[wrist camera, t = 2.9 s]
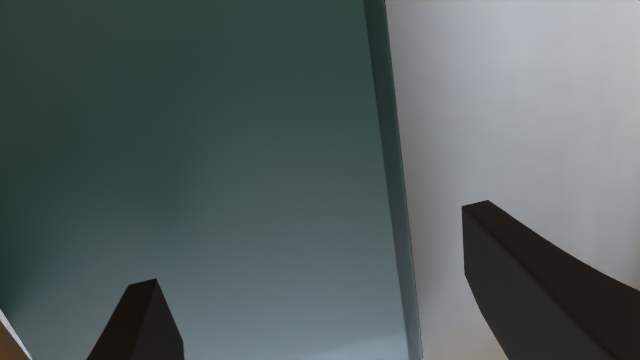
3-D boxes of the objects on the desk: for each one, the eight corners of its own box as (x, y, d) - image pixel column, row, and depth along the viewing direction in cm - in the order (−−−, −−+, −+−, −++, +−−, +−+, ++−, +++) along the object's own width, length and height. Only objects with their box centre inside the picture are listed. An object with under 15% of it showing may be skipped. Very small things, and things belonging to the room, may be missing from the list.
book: (119, 415, 21) (110, 482, 19) (-135, -36, 12) (-199, -3, 10) (406, 345, 21) (428, 402, 19) (345, -135, 13) (372, -122, 11)
